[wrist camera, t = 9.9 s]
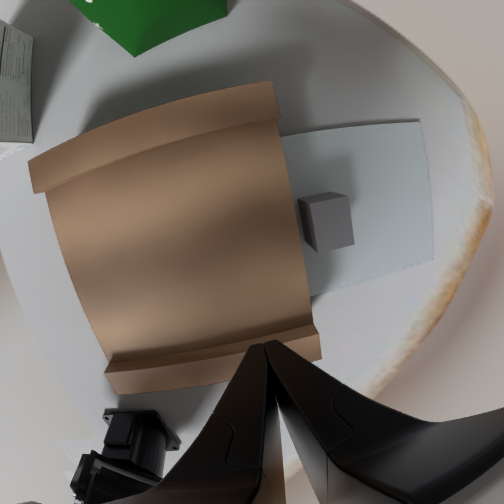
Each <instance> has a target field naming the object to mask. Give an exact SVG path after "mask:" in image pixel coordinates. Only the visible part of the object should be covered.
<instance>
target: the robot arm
mask: <svg viewBox="0 0 504 504" xmlns="http://www.w3.org/2000/svg"><path fill="white" fill-rule="evenodd" d="M276 399H277V400H276ZM277 403H278V405H277ZM278 407H279V410H280V412H281V415H282V417H283V420H284V422H285V425H286V427H287V429H288V432H289V434H290V437H291V439H292V441H293V444H294V446H295V448H296V451H297V453H298V455H299V458H300V460H301V462H302V465H303V467H304V469H305V472H306V474H307V476H308V478H309V481H310V483H311V485H312V487H313V490H314V492H315V494H316V496H317V499H318V501H319V503H320V504H504V407H503V408H500V409H497V410H493V411H489V412H486V413H482V414H478V415H474V416H470V417H465V418H461V419H456V420H451V421H445V422H428V421H423V420H420V419H417V418H414V417H412V416H409V415H407V414H404V413H402V412H399V411H397V410H395V409H392V408H390V407H387V406H385V405H383V404H380V403H378V402H376V401H374V400H372V399H370V398H368V397H365V396H364V395H362V394H360V393H358V392H357V391H355V390H353V389H351V388H350V387H348V386H347V385H345V384H342V382H340V381H339V380H337V379H335V378H334V377H332V376H331V375H329V374H328V373H326V372H325V371H323V370H322V369H320V368H318V367H317V366H315V365H314V364H312V363H311V362H309V361H308V360H306V359H305V358H303V357H302V356H300V355H299V354H297V353H296V352H295V351H293V350H292V349H290V348H289V347H287V346H286V345H284V344H283V343H281V342H280V341H279V340H277V339H274V340H270V341H266V342H264V344H263V343H257V344H252V345H250V346H249V348H248V349H247V351H246V353H245V355H244V357H243V359H242V361H241V362H240V364H239V366H238V368H237V370H236V372H235V373H234V375H233V377H232V379H231V381H230V382H229V384H228V386H227V388H226V390H225V391H224V393H223V395H222V397H221V399H220V400H219V402H218V404H217V406H216V407H215V409H214V411H213V413H212V414H211V416H210V418H209V419H208V421H207V423H206V424H205V426H204V427H203V429H202V431H201V432H200V434H199V435H198V437H197V438H196V439H195V441H194V442H193V443H192V444H191V446H190V447H189V448H188V450H187V451H186V452H185V453H184V454H183V456H182V457H181V458H180V459H179V461H178V462H177V463H176V464H175V465H174V466H173V468H172V469H171V470H170V471H169V472H168V474H167V475H166V476H165V477H164V478H162V475H163V468H164V461H165V454H166V451H177V450H179V444H178V443H177V441H176V440H175V438H174V437H173V435H172V434H171V432H170V431H169V429H168V428H167V426H166V425H165V423H164V422H163V420H162V419H161V417H160V415H159V414H158V413H157V412H156V411H140V412H116V413H104V414H103V416H102V418H103V419H104V421H105V422H106V423H107V425H108V426H109V428H108V431H107V433H106V436H105V439H104V444H105V445H104V448H103V451H102V454H99V453H97V452H96V451H94V450H91V453H90V454H82V457H81V460H80V462H79V465H78V467H77V470H76V472H75V474H74V476H73V479H72V481H71V484H70V487H71V489H72V490H73V492H74V497H75V501H74V504H286V496H285V483H284V470H283V457H282V445H281V433H280V421H279V411H278ZM153 415H154V416H153ZM19 504H41V503H37V502H31V501H30V502H24V503H19Z"/></svg>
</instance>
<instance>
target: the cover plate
mask: <svg viewBox="0 0 504 504" xmlns="http://www.w3.org/2000/svg"><path fill="white" fill-rule="evenodd" d="M280 139H281V144H282V148H283V153H284V158H285V162H286V167H287V172H288V177H289V182H290V187H291V192H292V197H293V202H294V207H295V213H296V218H297V223H298V229H299V235H300V240H301V246H302V252H303V258H304V264H305V270H306V276H307V283H308V289H309V296H310V297H311V296H315V295H318V294H322V293H326V292H329V291H333V290H336V289H340V288H343V287H347V286H350V285H354V284H357V283H361V282H364V281H367V280H371V279H374V278H377V277H380V276H384V275H387V274H390V273H393V272H396V271H400V270H403V269H406V268H409V267H412V266H415V265H418V264H421V263H424V262H427V261H430V260H433V221H432V205H431V193H430V183H429V174H428V166H427V159H426V152H425V146H424V140H423V135H422V129H421V124H420V122H407V123H389V124H375V125H364V126H354V127H344V128H336V129H328V130H321V131H313V132H307V133H300V134H294V135H288V136H282V137H280Z"/></svg>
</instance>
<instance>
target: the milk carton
mask: <svg viewBox="0 0 504 504" xmlns="http://www.w3.org/2000/svg"><path fill="white" fill-rule="evenodd" d="M69 1H70V2H71V3H72V4H74V5H75V6H76V7H77V8H78V9H79V10H80V11H81V12H82V13H83V14H84V15H85V16H86V17H87V18H88V19H89V20H90V21H91V22H92V23H94V24H95V25H96V26H97V27H99V28H100V29H101V30H102V31H104V32H105V33H106V34H107V35H109V36H110V37H111V38H112V39H113V40H115V41H116V42H117V43H118V44H119V45H121V46H122V47H123V48H124V49H125V50H126V51H128V52H129V53H130V54H131V55H132V56H133V57H136V56H138V55H140V54H142V53H144V52H145V51H147V50H149V49H151V48H153V47H155V46H157V45H159V44H161V43H163V42H165V41H167V40H169V39H172V38H174V37H176V36H178V35H180V34H183V33H185V32H187V31H190V30H192V29H194V28H197V27H199V26H202V25H204V24H207V23H210V22H212V21H215V20H218V19H221V18H223V17H226V16H227V0H69Z"/></svg>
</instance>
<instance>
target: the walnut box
mask: <svg viewBox="0 0 504 504" xmlns="http://www.w3.org/2000/svg"><path fill="white" fill-rule="evenodd" d="M279 118H281V117H280V113H279V109H278V105H277V101H276V97H275V93H274V89H273V85H272V81H264V82H258V83H252V84H246V85H240V86H235V87H230V88H225V89H220V90H216V91H211V92H207V93H203V94H199V95H195V96H191V97H187V98H183V99H179V100H176V101H172V102H169V103H165V104H162V105H159V106H156V107H152V108H149V109H146V110H143V111H140V112H137V113H134V114H132V115H129V116H126V117H123V118H120V119H118V120H115V121H113V122H110V123H107V124H105V125H102V126H100V127H98V128H95V129H93V130H90V131H88V132H86V133H83V134H81V135H79V136H77V137H75V138H72V139H70V140H68V141H66V142H64V143H62V144H60V145H58V146H56V147H54V148H52V149H50V150H48V151H46V152H44V153H42V154H40V155H38V156H36V157H35V158H33V159H31V160H29V161H28V166H29V172H30V177H31V182H32V187H33V192H34V194H37V193H42V192H45V195H46V199H47V203H48V207H49V211H50V215H51V219H52V222H53V226H54V229H55V233H56V236H57V239H58V243H59V246H60V249H61V252H62V255H63V258H64V261H65V264H66V267H67V269H68V272H69V275H70V278H71V280H72V283H73V285H74V288H75V291H76V293H77V296H78V298H79V300H80V303H81V305H82V308H83V310H84V312H85V314H86V317H87V319H88V321H89V323H90V325H91V328H92V330H93V332H94V334H95V336H96V338H97V340H98V342H99V344H100V346H101V348H102V350H103V352H104V354H105V356H106V358H107V360H108V361H109V364H108V366H107V368H106V370H105V372H104V374H105V376H106V378H107V379H108V381H109V383H110V384H111V386H112V388H113V389H114V391H115V393H116V394H117V395H122V394H136V393H147V392H157V391H166V390H175V389H182V388H190V387H197V386H203V385H209V384H215V383H221V382H227V381H231V379H232V377H233V375H234V373H235V372H236V370H237V368H238V366H239V364H240V362H241V361H242V359H243V357H244V355H245V353H246V351H247V349H248V348H249V346H250V345H252V344H257V343H263V344H264V342H266V341H270V340H274V339H277V340H279V341H280V342H281V343H283V344H284V345H286V346H287V347H289V348H290V349H292V350H293V351H295V352H296V353H297V354H299V355H300V356H302V357H303V358H305V359H306V360H308V361H309V362H313V361H317V360H320V359H322V356H321V347H320V338H319V333H318V331H317V329H316V327H315V325H314V323H313V316H312V309H311V302H310V296H309V289H308V283H307V276H306V270H305V264H304V258H303V252H302V246H301V240H300V235H299V229H298V223H297V218H296V213H295V207H294V202H293V197H292V192H291V187H290V182H289V177H288V172H287V167H286V162H285V158H284V153H283V148H282V144H281V139H280V135H279V131H278V126H277V122H276V121H277V120H278V119H279Z"/></svg>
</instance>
